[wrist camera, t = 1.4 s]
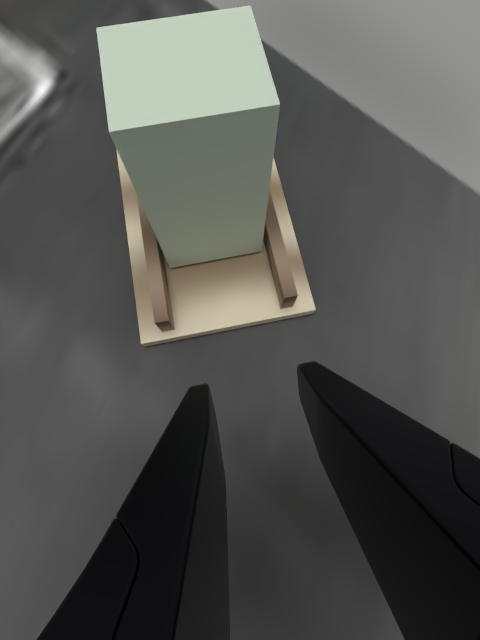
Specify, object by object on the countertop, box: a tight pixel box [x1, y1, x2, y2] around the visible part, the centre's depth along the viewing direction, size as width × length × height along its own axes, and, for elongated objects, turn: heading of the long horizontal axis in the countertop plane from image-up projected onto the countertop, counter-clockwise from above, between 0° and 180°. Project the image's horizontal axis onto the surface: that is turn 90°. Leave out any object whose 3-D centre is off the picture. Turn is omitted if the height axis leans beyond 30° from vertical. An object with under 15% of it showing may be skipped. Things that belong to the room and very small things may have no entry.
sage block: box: [96, 6, 280, 268], centre depth 18 cm, size 5×6×11 cm
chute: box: [117, 151, 316, 347], centre depth 24 cm, size 20×11×3 cm, turn 11°
